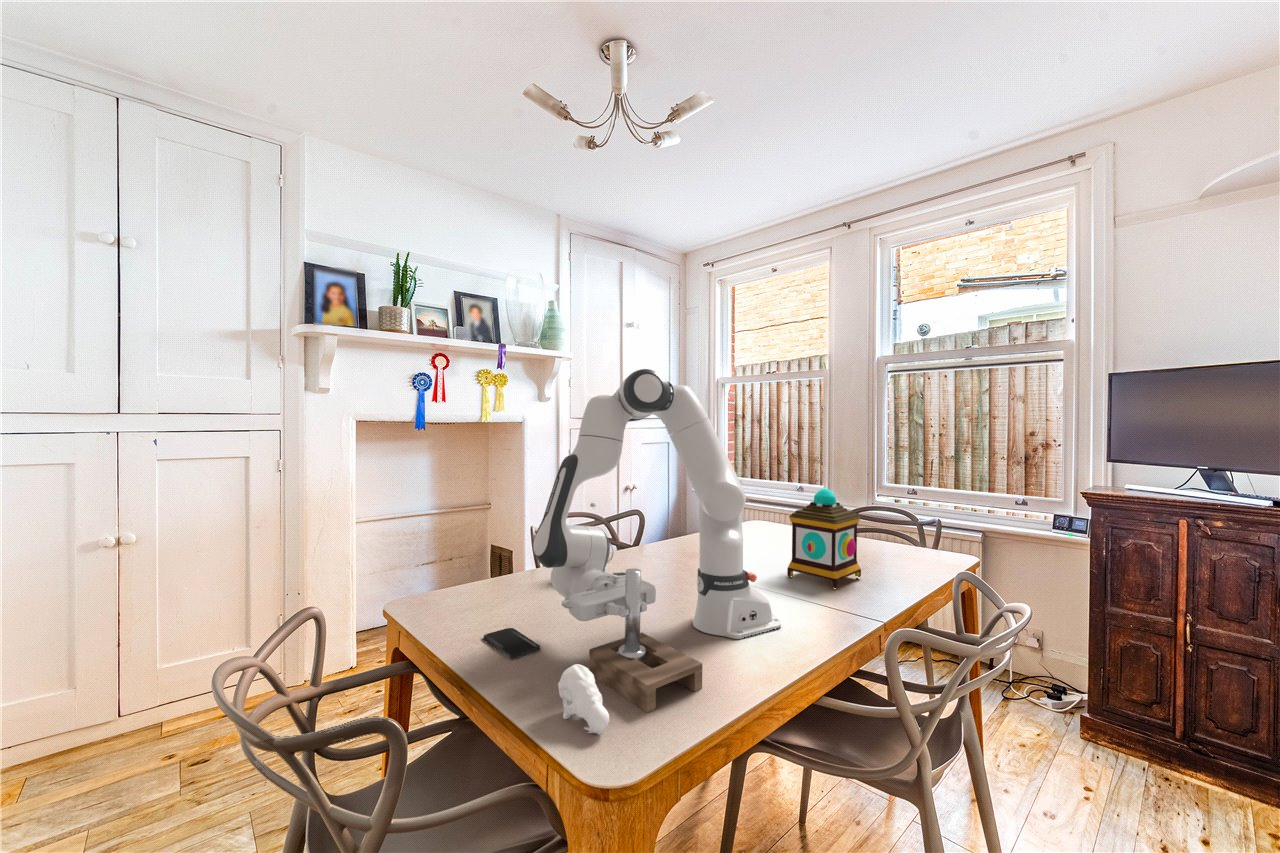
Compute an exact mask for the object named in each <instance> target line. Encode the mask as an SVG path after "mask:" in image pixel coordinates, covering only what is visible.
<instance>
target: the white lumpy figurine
mask: <svg viewBox="0 0 1280 853" xmlns="http://www.w3.org/2000/svg"><path fill="white" fill-rule="evenodd" d="M557 686H558V694H559V696H560V698H561V700H562V706H563V714H562V717H563V720H569V718H570V717H571V716H574V715H576V716H577V717H578V718H581V719H583V720H584V721H586V723H587V725H588V726H584V728H583V729H584V730H586V731H588V732H586V734H587V733H588V734H597V735H598V736H599V735H601V734H602V733H603V731H604V730H605V729H606V728H607V727H608V725H609V722H610V714H609V712H608V710H607V709H606V708H605V706H604V705H603V695H602V692H600V690H599V688H598V686H597V684H596V677H595V676H594V675H593V673H592V672H590V671H589V667H586V666H585V665H582V664H577V663H575V664H572V665H571V666H570V667H568V668H567V669H565V670H564V671H563V673H562V674H561V676H560V680H559V682H558V683H557Z"/></svg>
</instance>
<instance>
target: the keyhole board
mask: <svg viewBox="0 0 1280 853" xmlns="http://www.w3.org/2000/svg"><path fill="white" fill-rule="evenodd" d="M622 645H625V637H624V638H620V639H617V640H614V641H611V642H608V643H605V644H602V645H598V646H595V647H592V648H589V652H588V653H589V654H588V655H589V656H588V657H589V660H588V661H589V667H588V669H589V671H590V672H592V673H593V675H594V678H595V679H597V680H599V681H601V682H602V683H603V684H605V685H606V686H608V687H609V688H611V689H612V690H613V691H615V692H617V693H618V694H619V695H621V696H622V697H624V698H625V699H627V700H628V701H629V702H631V703H632V704H634V705H636V706H637V707H638V708H640V709H641V710H643V711H644V712H645V713H649V712H652V711H654V710H656V708H657V689H658V688H661V687H663V686H664V685H668V684H669V683H673V682H677V683H680V684H681V685H683V686H684V685H685V687H686V688H688V689H690V690H691V691H693V692H697V691H700V690H702V689H703V662H701V661H699V660H697V659H695V658H693V657H691V656H689V655H687V654H686V653H683V652H681V651H679V650H677V649H676V648H674V647H671V646H669V645H667V644H666V643H663V642H661V641H659V640H657V639H656V638H653V637H652V636H650V635H647V634H646V633H644V632H641V631H640V645H642V646H644V647H645V648H646V658H645V660H643V661H642V662H641V661H639V660H637V659H635V660H632V661H630V660H628V659H627V658H625V657H623V656H621V655H620V654H619V647H620V646H622ZM701 688H702V689H701ZM699 689H700V690H699Z"/></svg>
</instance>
